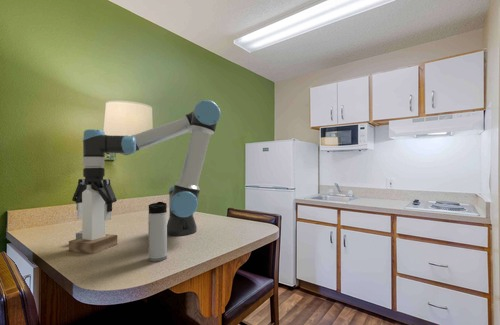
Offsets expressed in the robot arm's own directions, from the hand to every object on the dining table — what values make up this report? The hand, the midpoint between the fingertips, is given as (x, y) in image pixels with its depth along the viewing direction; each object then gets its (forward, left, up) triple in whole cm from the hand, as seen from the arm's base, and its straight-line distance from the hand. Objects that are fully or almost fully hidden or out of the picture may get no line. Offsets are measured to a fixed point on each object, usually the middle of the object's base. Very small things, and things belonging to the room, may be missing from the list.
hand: (94, 219), depth 104 cm
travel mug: (-33, +4, -12) cm, 35 cm away
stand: (0, 0, -12) cm, 12 cm away
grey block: (+10, -4, -12) cm, 16 cm away
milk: (0, 0, -8) cm, 8 cm away
